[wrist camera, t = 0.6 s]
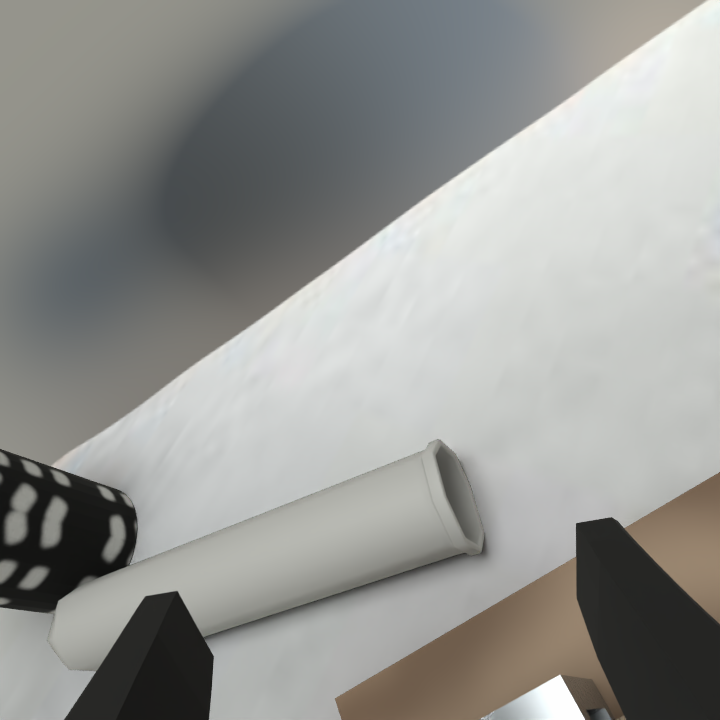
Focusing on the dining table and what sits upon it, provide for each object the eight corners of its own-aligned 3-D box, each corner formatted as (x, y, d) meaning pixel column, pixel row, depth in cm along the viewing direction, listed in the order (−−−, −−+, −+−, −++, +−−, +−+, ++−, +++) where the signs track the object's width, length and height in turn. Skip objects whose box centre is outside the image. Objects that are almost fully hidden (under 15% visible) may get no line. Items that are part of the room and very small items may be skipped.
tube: (35, 700, 31) (468, 561, 23) (20, 597, 33) (422, 436, 25) (113, 667, 36) (493, 544, 28) (97, 579, 37) (453, 440, 30)
